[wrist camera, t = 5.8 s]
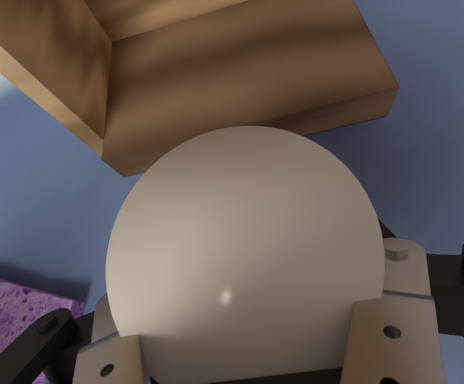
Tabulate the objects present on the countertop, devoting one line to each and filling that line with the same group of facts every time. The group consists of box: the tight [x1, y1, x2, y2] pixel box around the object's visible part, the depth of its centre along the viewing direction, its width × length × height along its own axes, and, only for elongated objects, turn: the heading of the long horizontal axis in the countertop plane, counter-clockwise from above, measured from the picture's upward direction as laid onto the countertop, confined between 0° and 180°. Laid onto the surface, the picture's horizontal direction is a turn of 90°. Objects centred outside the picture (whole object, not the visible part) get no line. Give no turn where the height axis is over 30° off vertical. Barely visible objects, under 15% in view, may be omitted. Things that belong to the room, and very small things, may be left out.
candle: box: [106, 126, 385, 384], centre depth 11 cm, size 6×6×10 cm
